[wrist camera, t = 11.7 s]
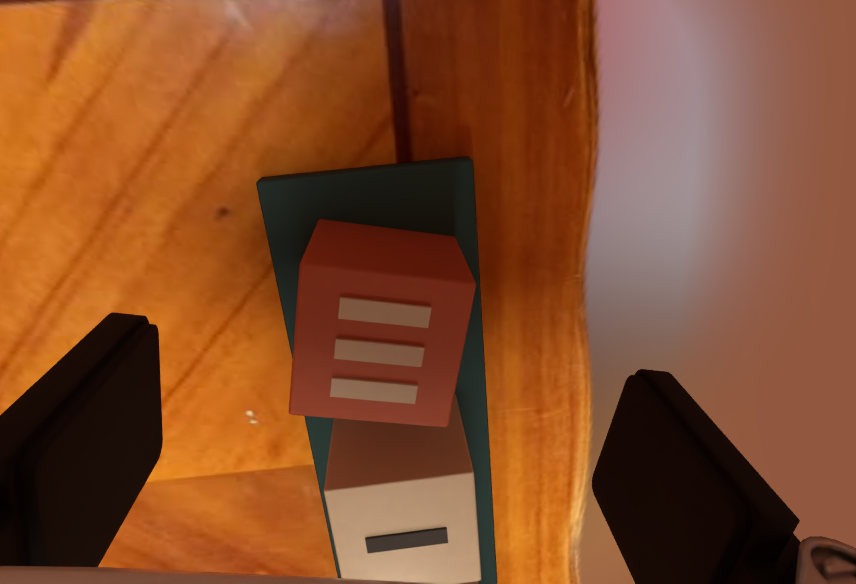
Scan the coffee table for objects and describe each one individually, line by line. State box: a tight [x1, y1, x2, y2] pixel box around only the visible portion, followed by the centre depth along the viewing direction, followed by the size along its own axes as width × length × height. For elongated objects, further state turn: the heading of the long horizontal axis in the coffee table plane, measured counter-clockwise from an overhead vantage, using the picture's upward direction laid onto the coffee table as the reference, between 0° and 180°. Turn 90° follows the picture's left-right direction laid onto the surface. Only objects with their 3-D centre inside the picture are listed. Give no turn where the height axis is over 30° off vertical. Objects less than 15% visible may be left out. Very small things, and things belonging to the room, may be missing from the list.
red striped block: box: [289, 219, 476, 427], centre depth 17 cm, size 5×5×5 cm
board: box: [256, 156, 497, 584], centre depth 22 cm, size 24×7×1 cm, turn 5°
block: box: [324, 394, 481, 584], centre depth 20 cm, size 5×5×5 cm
